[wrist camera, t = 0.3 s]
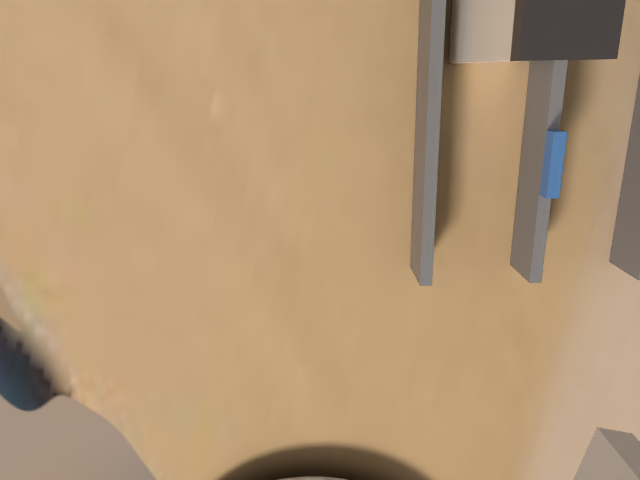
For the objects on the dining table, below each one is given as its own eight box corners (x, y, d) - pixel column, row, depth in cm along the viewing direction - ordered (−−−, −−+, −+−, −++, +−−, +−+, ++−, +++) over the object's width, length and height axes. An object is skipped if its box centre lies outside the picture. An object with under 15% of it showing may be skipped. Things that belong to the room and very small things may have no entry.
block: (451, -7, 32) (529, -51, 21) (518, -8, 32) (633, -53, 21) (447, 65, 33) (518, 60, 22) (512, 63, 33) (616, 58, 22)
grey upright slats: (423, -117, 30) (442, -148, 26) (685, -121, 30) (746, -154, 26) (410, 266, 37) (423, 291, 33) (620, 261, 38) (659, 285, 33)
